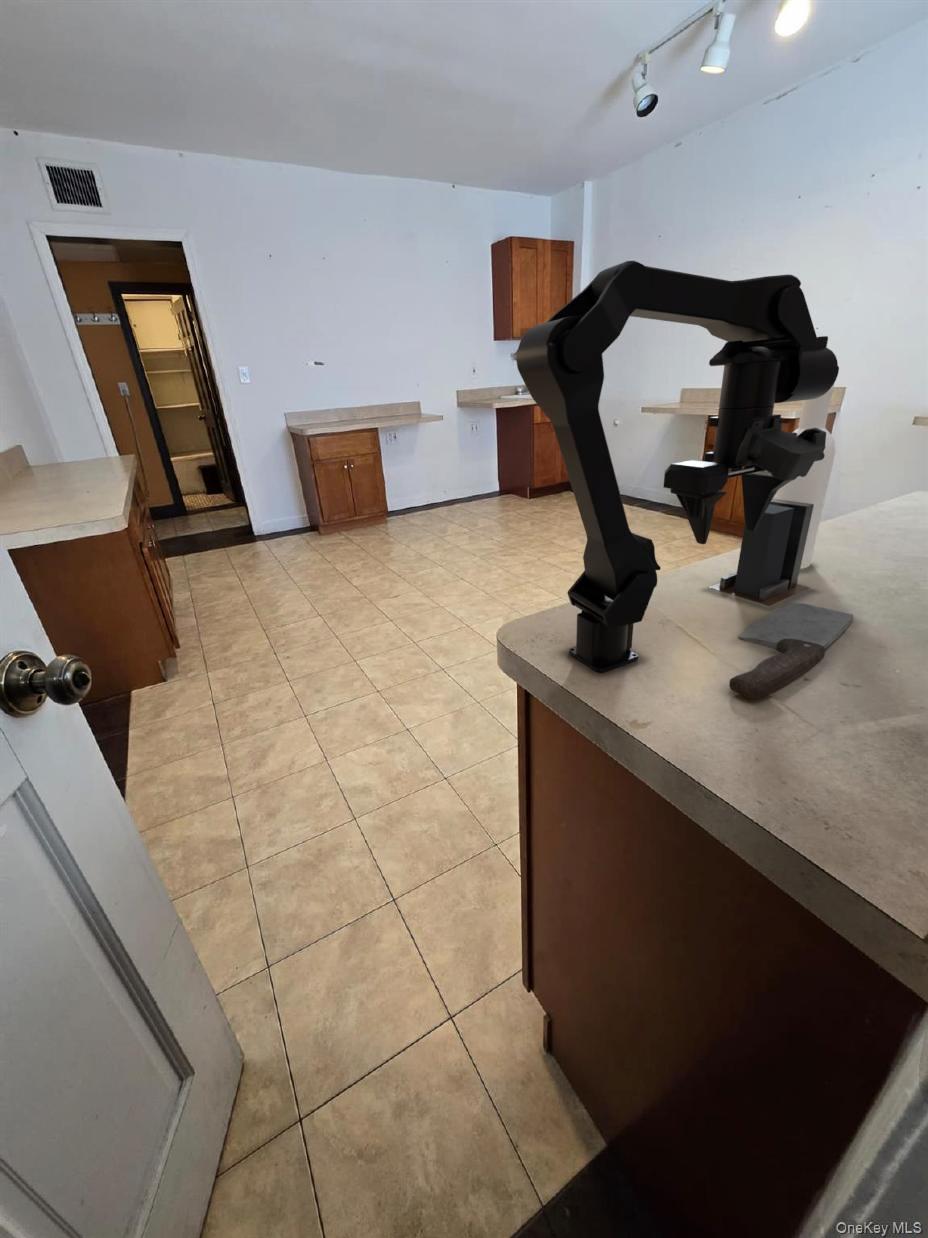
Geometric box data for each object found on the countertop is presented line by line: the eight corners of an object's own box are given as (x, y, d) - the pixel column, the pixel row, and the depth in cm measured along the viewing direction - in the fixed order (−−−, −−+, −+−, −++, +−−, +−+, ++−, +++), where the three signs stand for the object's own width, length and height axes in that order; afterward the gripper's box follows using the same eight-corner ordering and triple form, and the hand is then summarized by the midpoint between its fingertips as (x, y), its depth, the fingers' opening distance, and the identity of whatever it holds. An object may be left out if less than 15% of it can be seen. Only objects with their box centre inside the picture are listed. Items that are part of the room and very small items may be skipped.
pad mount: (768, 609, 75) (786, 518, 70) (707, 590, 83) (719, 507, 78) (809, 590, 80) (828, 504, 75) (748, 574, 88) (761, 495, 83)
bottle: (766, 555, 96) (798, 379, 84) (814, 562, 91) (857, 376, 79) (752, 567, 91) (784, 382, 79) (803, 575, 86) (846, 379, 74)
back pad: (757, 599, 78) (773, 514, 72) (733, 591, 81) (746, 509, 75) (777, 591, 80) (794, 508, 74) (753, 583, 83) (767, 503, 77)
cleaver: (779, 712, 53) (783, 695, 52) (687, 679, 60) (689, 664, 59) (856, 621, 71) (860, 607, 70) (778, 603, 77) (781, 590, 76)
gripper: (755, 415, 49) (731, 568, 56) (868, 399, 57) (835, 536, 63) (666, 413, 59) (654, 545, 65) (773, 400, 66) (753, 519, 72)
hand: (726, 536), depth 66 cm, fingers open, 9 cm apart
